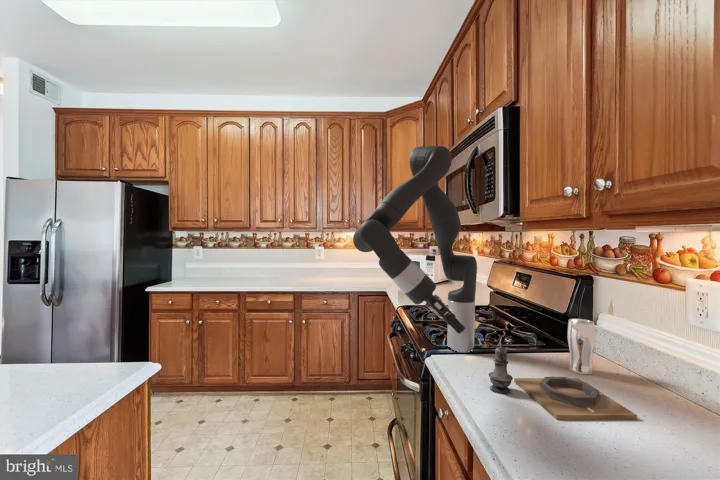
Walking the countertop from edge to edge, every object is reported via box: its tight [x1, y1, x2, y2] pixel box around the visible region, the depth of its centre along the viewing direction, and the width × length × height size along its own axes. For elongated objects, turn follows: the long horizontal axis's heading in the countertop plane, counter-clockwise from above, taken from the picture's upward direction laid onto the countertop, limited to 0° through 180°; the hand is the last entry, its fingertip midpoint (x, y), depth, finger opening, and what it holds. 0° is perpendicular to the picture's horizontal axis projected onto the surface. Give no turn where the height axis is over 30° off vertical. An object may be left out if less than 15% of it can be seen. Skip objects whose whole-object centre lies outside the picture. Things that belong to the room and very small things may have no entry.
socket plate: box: [513, 376, 638, 421], centre depth 87 cm, size 20×18×3 cm
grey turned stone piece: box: [488, 343, 514, 395], centre depth 91 cm, size 6×6×12 cm
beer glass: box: [567, 318, 596, 376], centre depth 105 cm, size 7×7×15 cm
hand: (456, 326), depth 91 cm, fingers open, 8 cm apart
